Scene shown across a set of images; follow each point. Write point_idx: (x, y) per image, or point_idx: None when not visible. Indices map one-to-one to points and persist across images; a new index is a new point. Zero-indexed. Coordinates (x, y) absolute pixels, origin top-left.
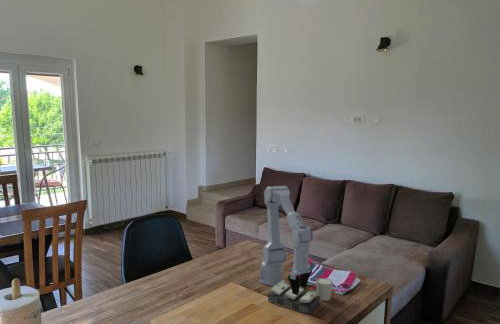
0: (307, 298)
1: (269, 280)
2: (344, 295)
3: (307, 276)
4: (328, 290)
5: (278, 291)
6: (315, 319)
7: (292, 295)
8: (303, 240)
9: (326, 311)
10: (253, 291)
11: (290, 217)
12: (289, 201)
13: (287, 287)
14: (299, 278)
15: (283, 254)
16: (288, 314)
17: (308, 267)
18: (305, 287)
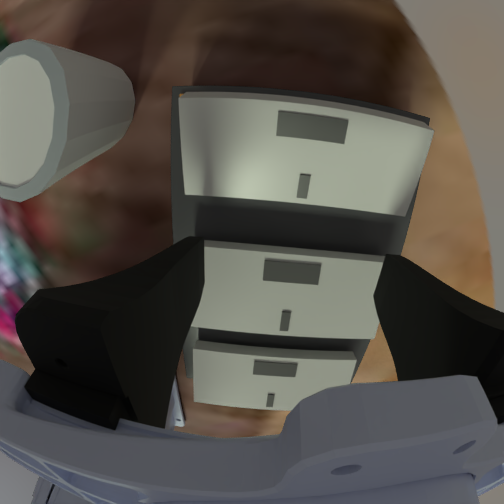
0: (396, 150)
1: (170, 413)
2: (19, 35)
3: (152, 306)
4: (76, 52)
5: (338, 373)
6: (432, 63)
7: (373, 286)
8: None
9: (287, 10)
10: (275, 418)
11: None
12: None
13: (230, 352)
14: (493, 375)
15: (63, 494)
16: (442, 228)
17: (119, 483)
18: (202, 238)
